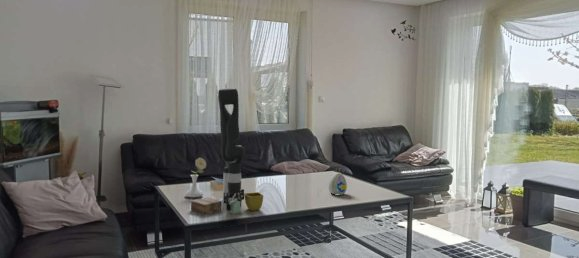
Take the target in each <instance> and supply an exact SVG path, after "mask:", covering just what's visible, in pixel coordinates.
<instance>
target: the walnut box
mask: <svg viewBox="0 0 579 258" xmlns="http://www.w3.org/2000/svg"><path fill="white" fill-rule="evenodd" d="M190 211H191V212H193V213H197V214H199V213H200V214H199V215H202V214H203V215H202V216H206V214H207V215H211V214H215V212H216V213H219V212H222V200H219V199H215V198H212V197H203V198H198V199H194V200H190ZM210 213H211V214H210Z"/></svg>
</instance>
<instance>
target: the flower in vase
mask: <svg viewBox="0 0 579 258" xmlns="http://www.w3.org/2000/svg"><path fill="white" fill-rule="evenodd" d="M194 164H195V167H196V168H197V171H194V170H190V171H191V173H194V174H190V177H191V179H192V186H191V187H190V189H188V190H187V191H186V192H185V193H184V194H185V196H186V197H188V198H201V197H202V196H204V191H202V190H201V189H200V188H199V187H197V180H198V177H199V174H203V173H204V172H205V171H204V169H206V167H207V162H206V160H205V159H204V158H202V157H198V158H197V159H195V162H194ZM197 173H199V174H197Z"/></svg>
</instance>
